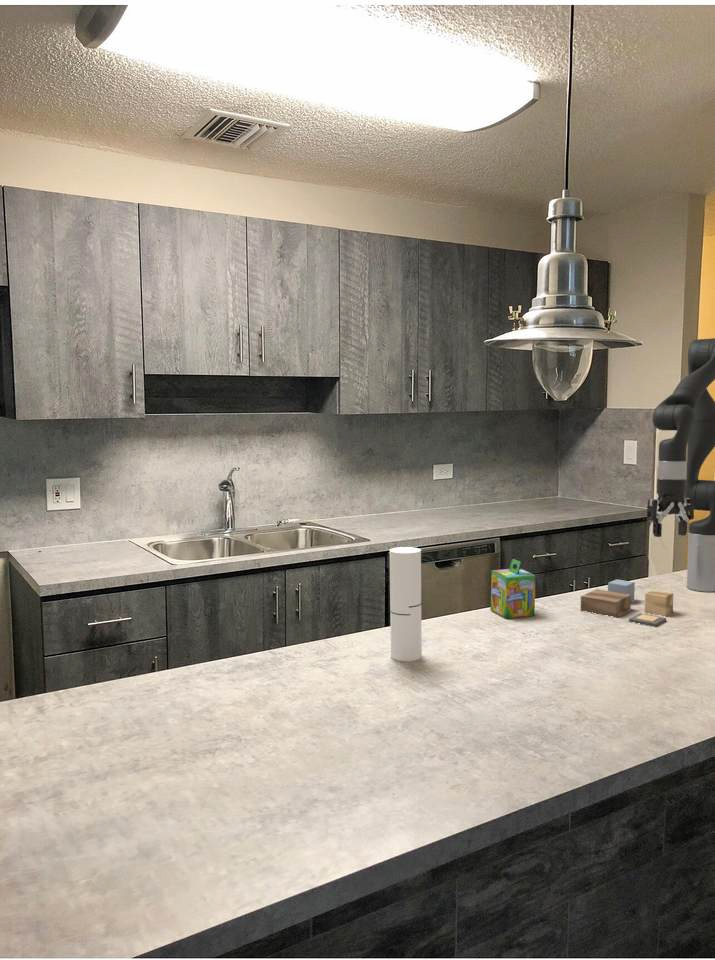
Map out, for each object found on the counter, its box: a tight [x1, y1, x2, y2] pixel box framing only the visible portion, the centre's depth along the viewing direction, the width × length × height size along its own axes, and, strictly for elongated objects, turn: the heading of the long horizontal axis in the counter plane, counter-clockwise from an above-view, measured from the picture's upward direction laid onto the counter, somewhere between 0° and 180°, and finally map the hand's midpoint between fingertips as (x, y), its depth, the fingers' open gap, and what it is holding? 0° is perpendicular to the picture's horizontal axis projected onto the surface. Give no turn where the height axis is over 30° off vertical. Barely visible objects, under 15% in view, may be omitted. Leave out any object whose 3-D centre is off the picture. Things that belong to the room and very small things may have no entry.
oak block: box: [644, 589, 674, 617], centre depth 209 cm, size 6×6×6 cm
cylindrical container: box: [389, 546, 423, 662], centre depth 176 cm, size 7×7×25 cm
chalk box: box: [490, 558, 537, 620], centre depth 210 cm, size 9×9×15 cm
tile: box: [628, 612, 667, 628], centre depth 201 cm, size 7×7×1 cm
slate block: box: [607, 579, 636, 602], centre depth 221 cm, size 6×6×6 cm
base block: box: [580, 588, 632, 618], centre depth 212 cm, size 10×10×4 cm
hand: (669, 535), depth 211 cm, fingers open, 8 cm apart
